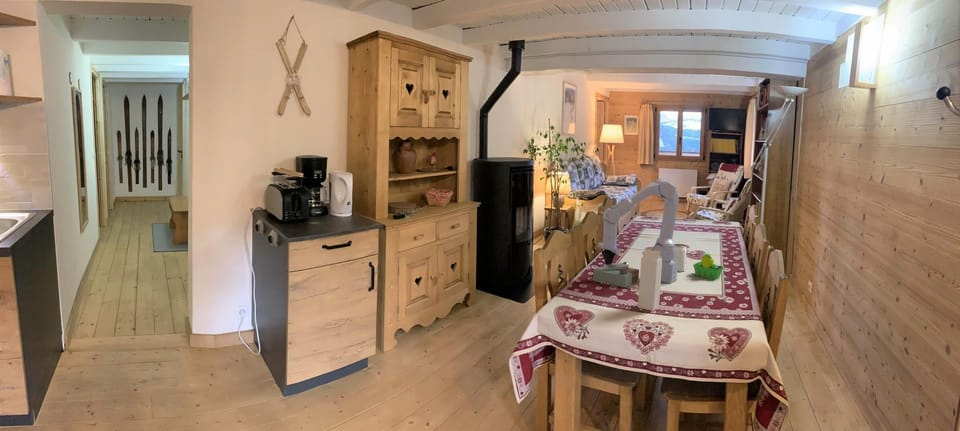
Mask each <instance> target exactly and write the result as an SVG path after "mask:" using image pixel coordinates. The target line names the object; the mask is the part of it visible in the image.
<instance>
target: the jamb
mask: <svg viewBox="0 0 960 431" xmlns="http://www.w3.org/2000/svg"><path fill="white" fill-rule="evenodd" d="M600 267H604V264H603V265H601V266H600ZM614 270H620V269H614ZM627 272H630V273H632V284H631V285H634V284H635V283H637V282H639V281H640V269H638V268H633V267H628V269H627ZM638 280H639V281H638Z"/></svg>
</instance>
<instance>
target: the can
mask: <svg viewBox="0 0 960 431" xmlns="http://www.w3.org/2000/svg"><path fill="white" fill-rule="evenodd" d="M673 244H674V253H675V255H674V258H673V259H672V261H673V262H676V263H677V273H681V272H685V271H686V262H687V261H686V260H687V245H686V244H684V243H683V244H682V243H673Z"/></svg>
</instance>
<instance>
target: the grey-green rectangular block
mask: <svg viewBox="0 0 960 431" xmlns="http://www.w3.org/2000/svg"><path fill="white" fill-rule="evenodd" d="M628 268H629V267H628ZM628 268H626V267H623V268H621V269H620V270H614V269H609V270H606V269H604V267H601V266H599V267H597V268H594V269H593V272H592V281H593V282H596V281H597V283H601V282H602V284H605V283H608V284H607V285H610V284H611V285H610V286H615V285H616V286H615V287H619V286H621V287H620V288H624V287H626V288H628V287H629V285H630V286H632V285H633V284H632V273H630V272H627V269H628ZM627 286H628V287H627Z"/></svg>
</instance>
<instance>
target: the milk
mask: <svg viewBox="0 0 960 431" xmlns="http://www.w3.org/2000/svg"><path fill="white" fill-rule="evenodd" d="M643 252H644V253H643V254H642V257H641V258H640V259H641V260H640V269H639V286H638V303H637V308H638V309H642V310H647V311H651V312H654V311H656V310H657V309H658V308H660V296H661V283H662V282H661V271H662V257H661V256H660V252H659V251H653V249H652V250H651V249H644V251H643Z"/></svg>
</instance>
